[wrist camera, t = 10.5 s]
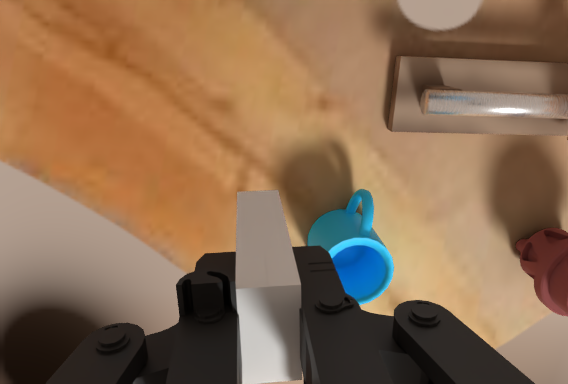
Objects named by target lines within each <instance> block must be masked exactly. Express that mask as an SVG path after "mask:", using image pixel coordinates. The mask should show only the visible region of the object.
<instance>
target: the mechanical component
mask: <svg viewBox="0 0 568 384" xmlns="http://www.w3.org/2000/svg"><path fill="white" fill-rule="evenodd" d="M516 249H517V250H518V251H520V252H521V254H520V264H521V267H522V269H523V270H524V271H525V272H526V273H527V274H528V275H529V276H530V277H532V278H533V279H534V288H535V292H536V295H537V297H538V298H539V300H540V301H541V302H542V303H543V304H544V305H545V306H546V307H548V308H549V309H550V310H551V311H553V312H555V313H557V314H559V315H562V316H568V233H567V232H566V231H564V230H562V229H559V228H547V229H543V230H541V231H539V232H537V233H535V234H534V235H533V236H531V237H530V238H529V239H521V240H519V241H518V242H517V243H516Z"/></svg>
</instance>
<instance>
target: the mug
mask: <svg viewBox="0 0 568 384" xmlns="http://www.w3.org/2000/svg"><path fill="white" fill-rule="evenodd" d="M361 200H362V215H360V214H359V213H357V212H356V210H357V208H358V206H359V203H360V202H361ZM373 212H374V205H373V198H372V196H371V193H370V192H369V191H367V190H364V189H360V190H358V191H356V192H355V193H354V194H353V196H352V197H351V199H350V201H349V203H348V205H347V208H346V209H337V210H334V211H330V212H327V213H326V214H324V215H322V216H321V217H319V218H318V219H317V220H316V222H315V223H314V224H313V225H312V227H311V229H310V231H309V234H308V242H307V245H308V246H318V245H320V246H321V247H322V248H324V249H325V250H326V251H328V252H329V253H330V256H331V258H332V260H333V263H334V265H335V268H336V271H337V273H338V275H339V278H340V280H341V283H342V285H343V287H344V290H345V292H346V293H347V294H348V295H350V296H352V297H354V298H355V300H356V301H357V302H358V303H359V305H361V304H365V303H368V302H370V301H372V300H374V299H375V298H377V297H379V296H380V295H381V294H382V293H383V292H384V291H385V290H386V289H387V287H388V285H389V284H390V282H391V280H392V277H393V271H394V265H393V259H392V256H391V255H390V253H389V251H388V250H387V248H386V247H385V245H384V244H383V243H382V241H381V240H380V238H379V237H378V235H377V234H376V233H375V231H374V230H373V228H372V222H373Z"/></svg>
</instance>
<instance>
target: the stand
mask: <svg viewBox="0 0 568 384" xmlns="http://www.w3.org/2000/svg"><path fill="white" fill-rule="evenodd" d="M426 89H431V90H460V91H488V92H517V93H546V94H568V63H554V62H530V61H507V60H483V59H460V58H436V57H413V56H396V63H395V71H394V80H393V88H392V97H391V105H390V113H389V122H388V130H390V131H392V132H428V133H469V134H510V135H551V136H568V119H558V118H523V117H488V116H453V115H423V114H422V112H421V108H420V101H421V96H422V93H423V92H424V90H426Z"/></svg>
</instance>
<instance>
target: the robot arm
mask: <svg viewBox="0 0 568 384" xmlns="http://www.w3.org/2000/svg"><path fill="white" fill-rule="evenodd" d="M176 290H177V298H178V307H179V315H180V317H179V322H178V323H177V324H176V325H174V326H172V327H170V328H169V329H166V330H163V331H161V332H158V333H154V334H150V335H147V336H145V334H144V331H143V329H142V328H140V327H139V326H138V325H135V324H130V323H116V324H112V325H108V326H105V327H102V328H100V329H98V330H96V331H94V332H92V333H91V334H90V335H89V336H88V337H86V338H85V339H84V340H83V341H82V342H81V344H80V345H79V346H78V347H77V348H76V350H74V352H73V353H72V354H71V355H70V356H69V357H68V358H67V360H66V361H65V362H64V363H63V364H62V365H61V367H60V368H59V369H58V370H57V371H56V372H55V373H54V375H53V376H52V377H51V378H50V379H49V380H48V381H47V382H46V384H258V383H270V382H282V381H293V380H302V372H303V377H304V384H535V383H534V382H532V381H531V380H530V379H529V378H528V377H527V376H525V375H524V374H523V373H522V372H521V371H519V370H518V369H517V368H516V367H515V366H513V365H512V364H511V363H510V362H509V361H508V360H506V359H505V358H504V357H503V356H502V355H500V354H499V353H498V352H497V351H496V350H495V349H493V348H492V347H491V346H490V345H489V344H487V343H486V342H485V341H484V340H483V339H481V338H480V337H479V336H478V335H477V334H476V333H474V332H473V331H472V330H471V329H470V328H468V327H467V326H466V325H465V324H464V323H463V322H461V321H460V320H459V319H458V318H457V317H455V316H454V315H453V314H452V313H451V312H449V311H448V310H447V309H445V308H443V307H442V306H440V305H438V304H435V303H432V302H429V301H422V300H413V301H406V302H404V303H401V304H399V305H398V306H397V307H396V308H395V309H394V316H387V315H379V314H374V313H369V312H366V311H364V310H361V308H360V306H359V303H358V302H357V301H356V300H355V298H354V297H352V296H350V295H348V294H347V293H346V292H345V290H344V287H343V285H342V283H341V280H340V278H339V275H338V273H337V271H336V268H335V265H334V263H333V260H332V258H331V256H330V253H329V252H328V251H326V250H325V249H324V248H322V247H321V246H320V245H318V246H301V247H292V245H291V241H290V237H289V233H288V228H287V224H286V220H285V216H284V212H283V208H282V204H281V200H280V195H279V191H278V190H267V191H247V192H237V229H236V252H223V253H206V254H204V255H203V256H202V257H201V258H200V259H199V260H198V261H197V262H196V267H195V271H194V272H191V273H189V274H187V275H185V276H184V277H182V278H181V279H180V280H179V281H178V283H177V284H176Z"/></svg>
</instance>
